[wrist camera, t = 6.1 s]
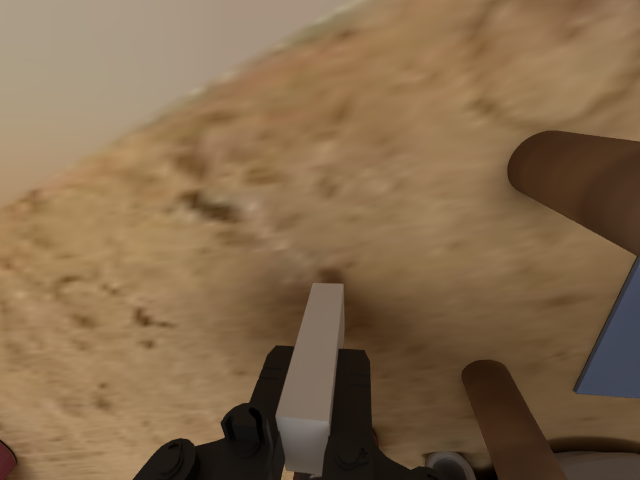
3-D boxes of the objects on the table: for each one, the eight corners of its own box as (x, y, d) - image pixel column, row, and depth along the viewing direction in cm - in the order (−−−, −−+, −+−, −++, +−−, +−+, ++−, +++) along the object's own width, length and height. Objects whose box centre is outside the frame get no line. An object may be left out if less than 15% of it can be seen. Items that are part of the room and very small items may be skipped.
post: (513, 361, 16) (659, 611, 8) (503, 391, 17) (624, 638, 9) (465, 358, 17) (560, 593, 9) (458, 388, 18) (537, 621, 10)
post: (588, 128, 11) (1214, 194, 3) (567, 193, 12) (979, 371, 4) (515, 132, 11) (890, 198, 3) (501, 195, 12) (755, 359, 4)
